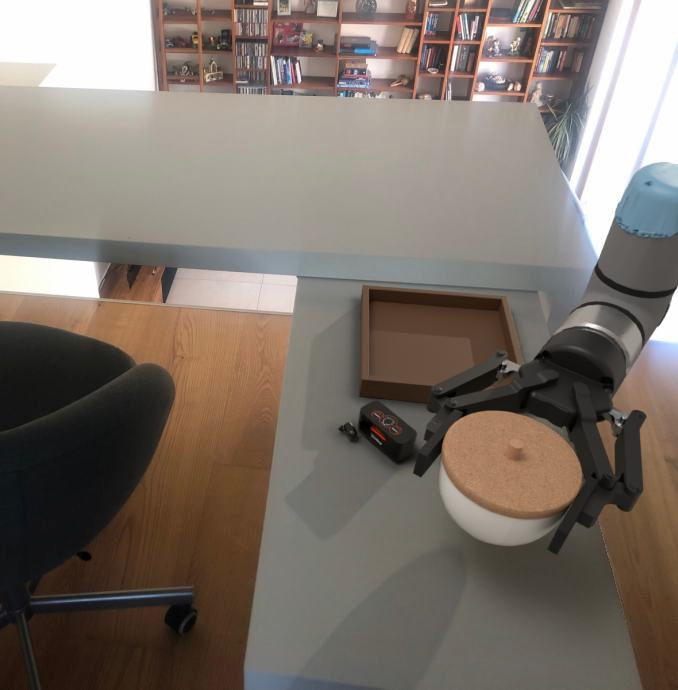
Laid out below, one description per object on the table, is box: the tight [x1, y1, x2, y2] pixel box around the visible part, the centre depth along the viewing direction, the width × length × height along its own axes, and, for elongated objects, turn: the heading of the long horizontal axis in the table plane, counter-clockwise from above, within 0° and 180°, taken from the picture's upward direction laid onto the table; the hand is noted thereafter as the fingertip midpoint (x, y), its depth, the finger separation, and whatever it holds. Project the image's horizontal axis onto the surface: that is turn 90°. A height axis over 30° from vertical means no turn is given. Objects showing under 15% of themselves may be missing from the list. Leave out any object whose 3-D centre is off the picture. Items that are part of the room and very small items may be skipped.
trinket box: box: [437, 411, 584, 547], centre depth 58 cm, size 11×11×9 cm
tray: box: [358, 284, 527, 414], centre depth 86 cm, size 19×19×3 cm
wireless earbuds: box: [338, 399, 418, 463], centre depth 74 cm, size 5×7×3 cm, turn 35°
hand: (484, 501), depth 55 cm, fingers closed on trinket box, 11 cm apart
